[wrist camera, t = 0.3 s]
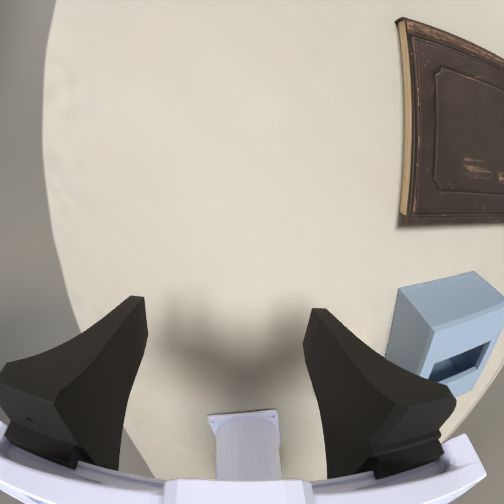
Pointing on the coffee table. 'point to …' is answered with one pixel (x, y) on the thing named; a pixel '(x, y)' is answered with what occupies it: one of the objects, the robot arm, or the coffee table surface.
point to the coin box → (446, 329)
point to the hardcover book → (451, 128)
